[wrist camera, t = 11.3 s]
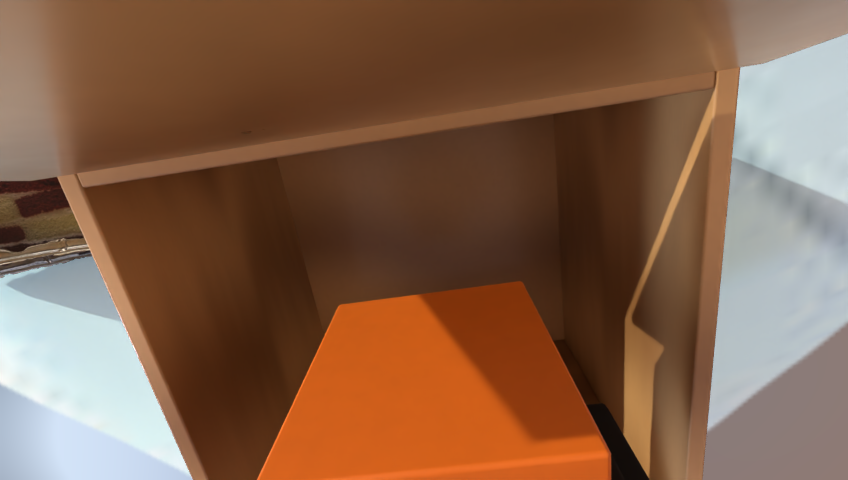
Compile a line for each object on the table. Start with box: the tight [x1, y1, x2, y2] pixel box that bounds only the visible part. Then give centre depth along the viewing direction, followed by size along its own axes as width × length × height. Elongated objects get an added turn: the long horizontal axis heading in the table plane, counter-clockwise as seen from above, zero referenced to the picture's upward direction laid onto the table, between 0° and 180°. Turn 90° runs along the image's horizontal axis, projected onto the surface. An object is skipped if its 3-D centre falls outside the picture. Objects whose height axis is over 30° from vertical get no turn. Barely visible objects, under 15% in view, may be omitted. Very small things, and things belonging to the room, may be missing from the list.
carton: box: [57, 67, 740, 480], centre depth 17 cm, size 15×16×12 cm
